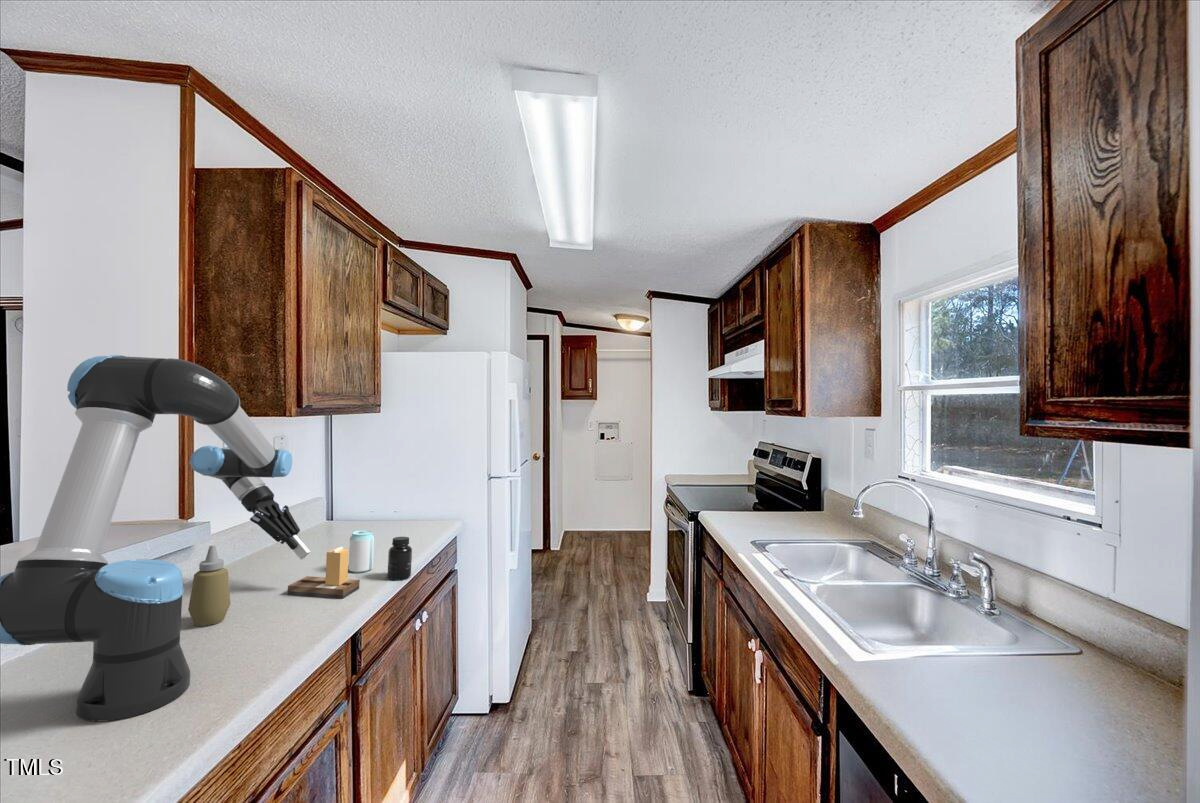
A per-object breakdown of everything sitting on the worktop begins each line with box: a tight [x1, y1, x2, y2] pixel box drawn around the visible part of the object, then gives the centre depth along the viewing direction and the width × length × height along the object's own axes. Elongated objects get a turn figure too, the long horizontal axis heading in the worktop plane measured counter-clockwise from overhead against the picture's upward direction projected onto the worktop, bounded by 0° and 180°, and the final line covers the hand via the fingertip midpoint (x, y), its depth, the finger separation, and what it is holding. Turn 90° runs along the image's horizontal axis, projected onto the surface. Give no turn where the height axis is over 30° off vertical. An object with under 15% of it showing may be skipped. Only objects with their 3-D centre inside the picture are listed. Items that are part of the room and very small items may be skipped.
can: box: [348, 529, 375, 574], centre depth 165 cm, size 7×7×12 cm
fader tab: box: [325, 546, 349, 586], centre depth 146 cm, size 4×4×11 cm
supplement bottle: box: [386, 536, 413, 581], centre depth 160 cm, size 7×7×12 cm
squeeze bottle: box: [188, 545, 231, 627], centre depth 124 cm, size 8×8×18 cm
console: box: [287, 575, 361, 600], centre depth 146 cm, size 16×8×3 cm, turn 85°
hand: (305, 555), depth 147 cm, fingers closed
